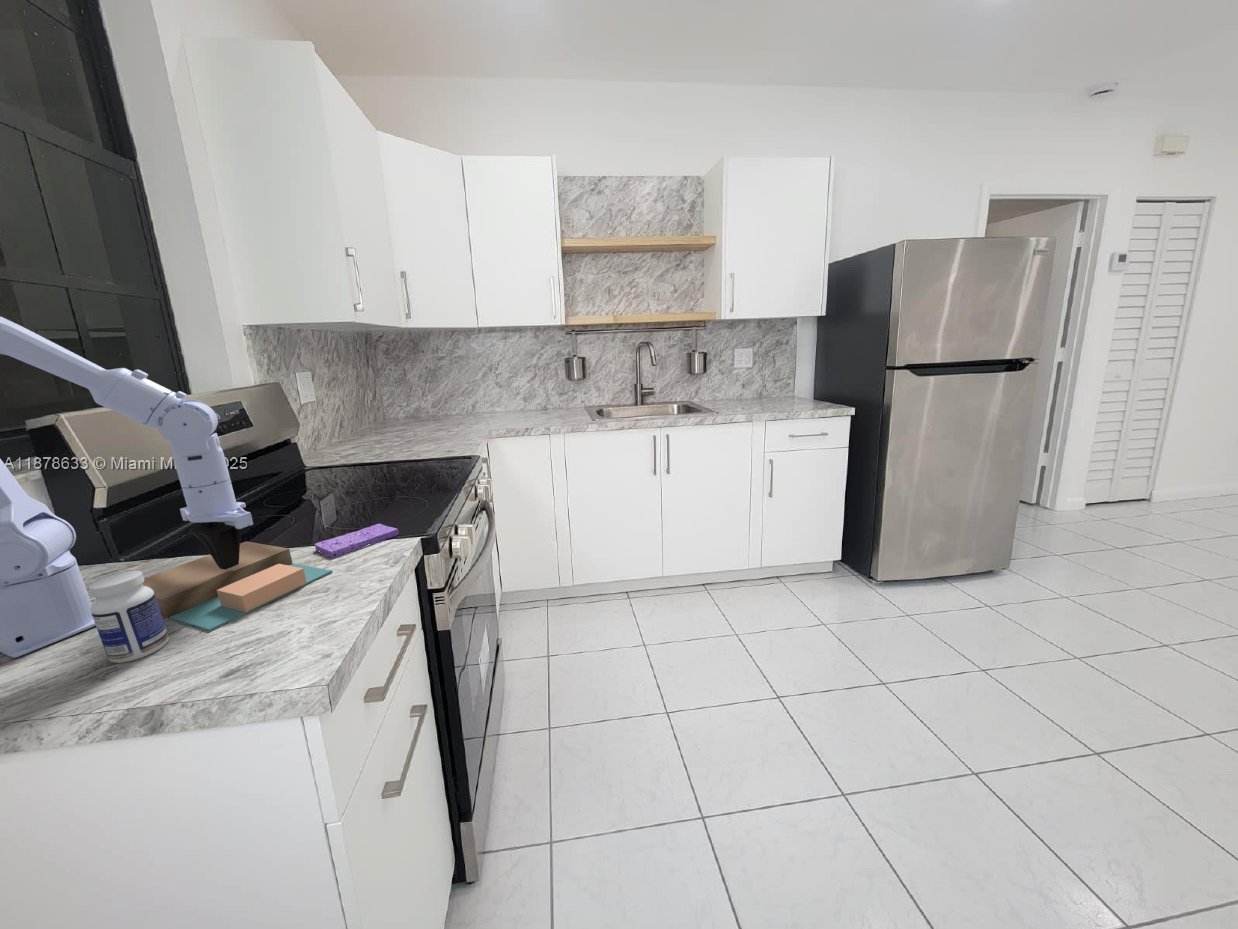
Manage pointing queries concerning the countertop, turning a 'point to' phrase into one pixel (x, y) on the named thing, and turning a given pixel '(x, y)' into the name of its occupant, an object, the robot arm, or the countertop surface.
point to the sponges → (355, 540)
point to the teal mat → (216, 615)
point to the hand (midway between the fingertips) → (229, 566)
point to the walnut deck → (210, 577)
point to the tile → (261, 587)
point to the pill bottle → (127, 617)
